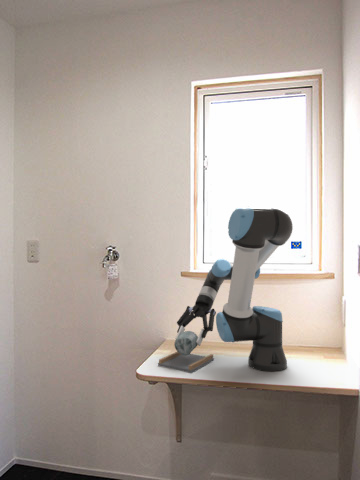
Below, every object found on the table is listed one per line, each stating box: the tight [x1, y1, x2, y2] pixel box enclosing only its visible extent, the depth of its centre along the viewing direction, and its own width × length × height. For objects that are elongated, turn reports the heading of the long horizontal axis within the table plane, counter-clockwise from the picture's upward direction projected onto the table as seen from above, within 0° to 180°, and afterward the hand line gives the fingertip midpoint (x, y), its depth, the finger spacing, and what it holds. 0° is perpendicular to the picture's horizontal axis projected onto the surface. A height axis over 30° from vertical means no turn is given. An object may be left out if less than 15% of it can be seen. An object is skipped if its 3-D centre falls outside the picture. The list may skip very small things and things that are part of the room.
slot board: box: [157, 350, 215, 374], centre depth 156 cm, size 16×18×2 cm
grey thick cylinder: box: [174, 330, 199, 355], centre depth 157 cm, size 14×10×10 cm
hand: (187, 342), depth 157 cm, fingers closed on grey thick cylinder, 9 cm apart
